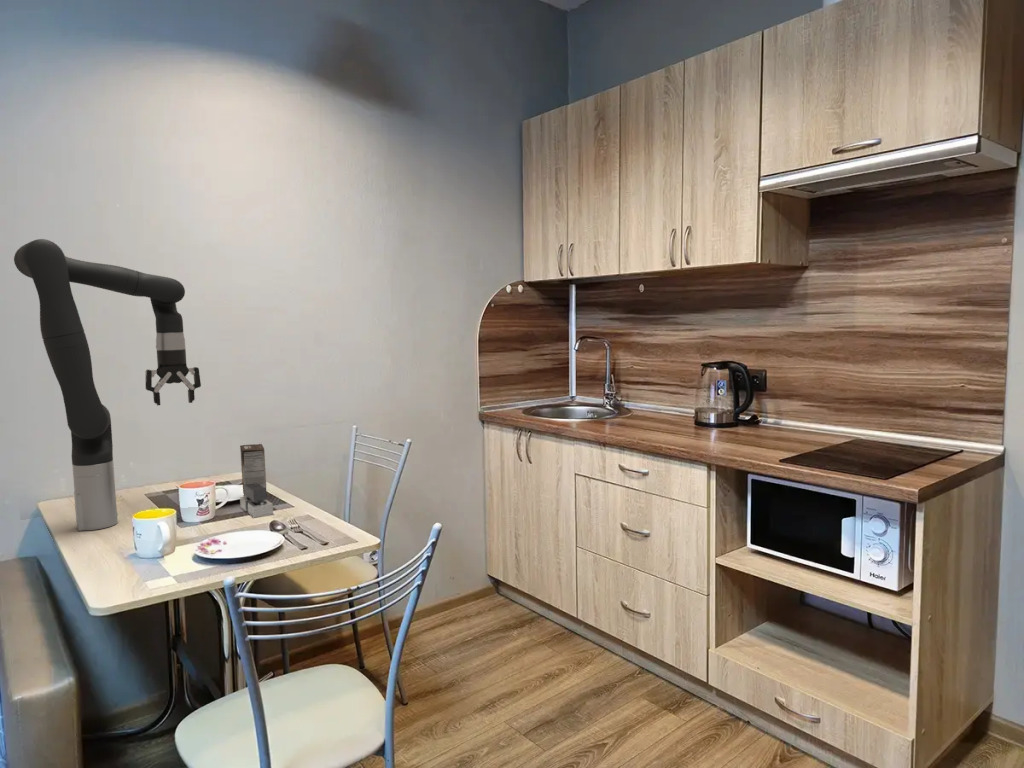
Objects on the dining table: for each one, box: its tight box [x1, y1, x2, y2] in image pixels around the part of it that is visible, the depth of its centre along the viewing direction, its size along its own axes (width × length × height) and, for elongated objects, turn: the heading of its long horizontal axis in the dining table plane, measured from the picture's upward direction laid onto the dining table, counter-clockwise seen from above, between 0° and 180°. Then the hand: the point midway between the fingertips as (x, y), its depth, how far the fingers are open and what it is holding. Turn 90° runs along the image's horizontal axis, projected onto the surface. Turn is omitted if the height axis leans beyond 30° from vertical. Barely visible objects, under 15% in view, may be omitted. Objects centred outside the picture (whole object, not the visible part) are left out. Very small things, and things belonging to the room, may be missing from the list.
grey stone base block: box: [239, 496, 274, 518], centre depth 191 cm, size 5×13×4 cm, turn 37°
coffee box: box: [239, 443, 268, 500], centre depth 204 cm, size 9×6×16 cm
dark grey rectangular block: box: [244, 483, 268, 505], centre depth 191 cm, size 4×9×7 cm, turn 37°
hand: (174, 403), depth 197 cm, fingers open, 8 cm apart
